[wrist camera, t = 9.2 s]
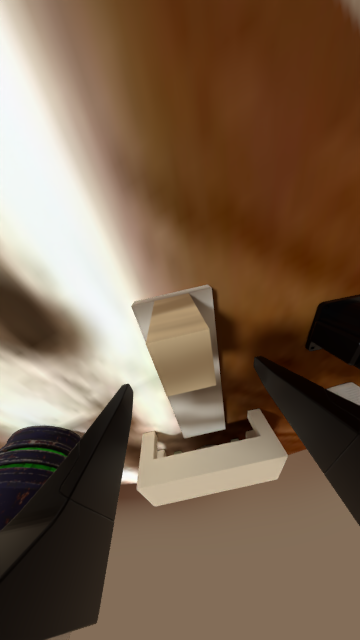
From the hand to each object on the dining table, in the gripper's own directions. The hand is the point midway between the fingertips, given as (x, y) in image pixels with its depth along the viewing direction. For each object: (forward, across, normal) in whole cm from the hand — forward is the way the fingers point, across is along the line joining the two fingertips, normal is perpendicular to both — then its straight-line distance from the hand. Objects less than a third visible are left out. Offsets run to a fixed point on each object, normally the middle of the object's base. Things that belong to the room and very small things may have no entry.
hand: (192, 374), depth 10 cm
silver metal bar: (+6, 0, +8) cm, 10 cm away
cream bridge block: (+6, 0, +22) cm, 23 cm away
